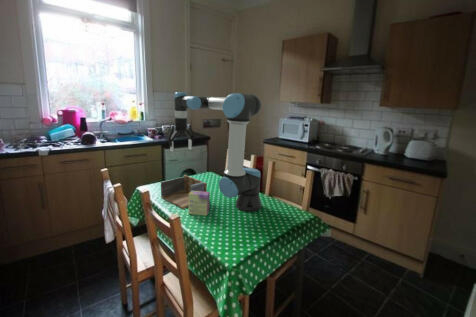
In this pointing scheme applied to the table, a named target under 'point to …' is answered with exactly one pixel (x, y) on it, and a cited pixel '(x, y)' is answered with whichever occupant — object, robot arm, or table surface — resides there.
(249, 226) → the table surface
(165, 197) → the grey brown open container
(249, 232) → the table surface
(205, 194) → the box
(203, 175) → the table surface
